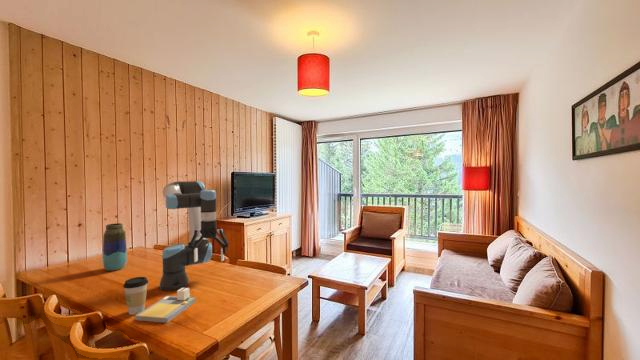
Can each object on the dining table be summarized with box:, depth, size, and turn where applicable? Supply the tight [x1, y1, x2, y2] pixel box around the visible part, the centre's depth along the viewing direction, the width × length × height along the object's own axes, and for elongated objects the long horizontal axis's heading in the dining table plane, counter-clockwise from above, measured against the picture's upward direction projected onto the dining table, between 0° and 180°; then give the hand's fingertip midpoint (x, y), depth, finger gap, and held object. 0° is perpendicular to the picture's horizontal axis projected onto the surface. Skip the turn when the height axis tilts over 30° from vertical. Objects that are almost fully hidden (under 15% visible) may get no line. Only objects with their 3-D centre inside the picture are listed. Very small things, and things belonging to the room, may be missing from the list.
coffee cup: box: [123, 276, 149, 316], centre depth 129 cm, size 10×10×15 cm
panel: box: [134, 295, 197, 324], centre depth 129 cm, size 16×20×2 cm
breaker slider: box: [176, 287, 191, 300], centre depth 136 cm, size 4×4×5 cm
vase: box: [101, 222, 128, 272], centre depth 189 cm, size 14×14×31 cm
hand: (209, 260), depth 140 cm, fingers open, 13 cm apart
